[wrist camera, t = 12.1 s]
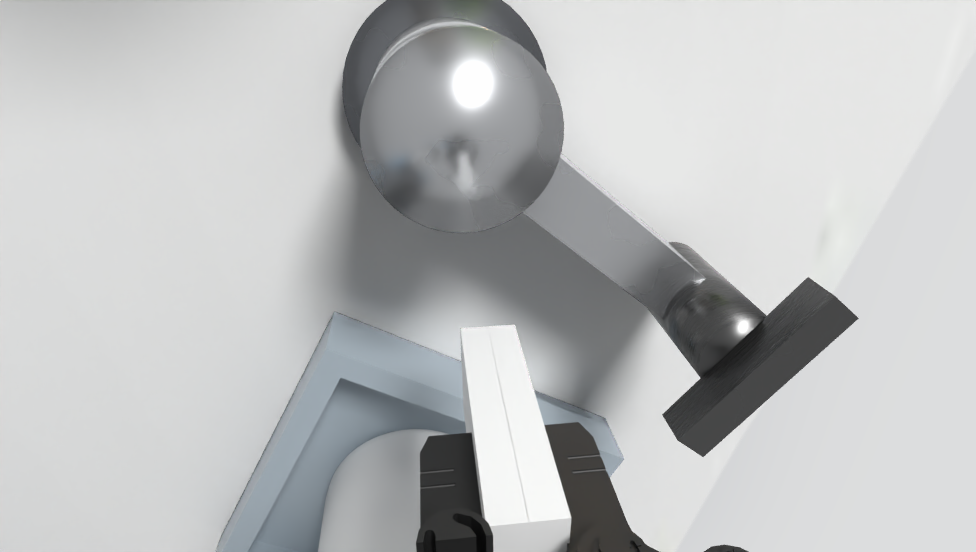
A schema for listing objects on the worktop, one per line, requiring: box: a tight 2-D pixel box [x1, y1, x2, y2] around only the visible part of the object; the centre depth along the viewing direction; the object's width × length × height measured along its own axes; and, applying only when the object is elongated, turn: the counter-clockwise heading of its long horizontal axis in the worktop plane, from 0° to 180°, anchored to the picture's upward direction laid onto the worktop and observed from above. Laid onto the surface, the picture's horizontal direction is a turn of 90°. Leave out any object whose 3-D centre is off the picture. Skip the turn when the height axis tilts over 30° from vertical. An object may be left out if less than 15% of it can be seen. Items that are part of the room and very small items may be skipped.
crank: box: [360, 17, 858, 457], centre depth 18 cm, size 15×6×8 cm, turn 51°
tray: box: [216, 312, 624, 552], centre depth 27 cm, size 14×14×3 cm
